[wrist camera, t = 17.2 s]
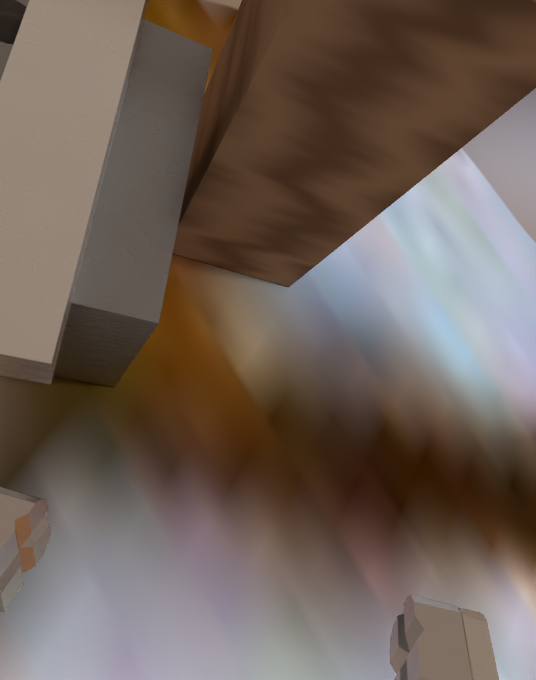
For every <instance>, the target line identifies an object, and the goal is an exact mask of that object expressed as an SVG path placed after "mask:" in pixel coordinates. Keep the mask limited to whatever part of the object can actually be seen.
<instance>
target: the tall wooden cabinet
mask: <svg viewBox="0 0 536 680" xmlns="http://www.w3.org/2000/svg"><path fill="white" fill-rule="evenodd" d="M535 88H536V0H242V2H241V4H240V7H239V9H238V12H237V14H236V17H235V19H234V22H233V24H232V27H231V29H230V32H229V34H228V37H227V39H226V42H225V44H224V47H223V49H222V52H221V54H220V57H219V59H218V62H217V64H216V67H215V69H214V72H213V74H212V77H211V79H210V82H209V84H208V86H207V89H206V91H205V94H204V96H203V101H202V106H201V112H200V117H199V122H198V127H197V132H196V137H195V142H194V147H193V152H192V157H191V162H190V167H189V172H188V177H187V183H186V188H185V193H184V198H183V203H182V208H181V213H180V218H179V223H178V228H177V233H176V238H175V243H174V248H173V253H172V254H176V255H179V256H183V257H186V258H190V259H193V260H197V261H200V262H204V263H207V264H211V265H214V266H218V267H221V268H224V269H228V270H231V271H235V272H238V273H242V274H245V275H249V276H252V277H256V278H259V279H263V280H266V281H269V282H273V283H276V284H280V285H283V286H287V287H290V286H291V285H292V284H293V283H295V282H296V281H297V280H298V279H300V278H301V277H302V276H303V275H304V274H306V273H307V272H308V271H309V270H311V269H312V268H313V267H314V266H316V265H317V264H318V263H319V262H321V261H322V260H323V259H324V258H326V257H327V256H328V255H329V254H330V253H332V252H333V251H334V250H335V249H337V248H338V247H339V246H340V245H342V244H343V243H344V242H345V241H347V240H348V239H349V238H350V237H352V236H353V235H354V234H355V233H356V232H358V231H359V230H360V229H361V228H363V227H364V226H365V225H366V224H368V223H369V222H370V221H371V220H373V219H374V218H375V217H376V216H378V215H379V214H380V213H381V212H383V211H384V210H385V209H386V208H387V207H389V206H390V205H391V204H392V203H394V202H395V201H396V200H397V199H399V198H400V197H401V196H402V195H404V194H405V193H406V192H407V191H409V190H410V189H411V188H412V187H413V186H415V185H416V184H417V183H418V182H420V181H421V180H422V179H423V178H425V177H426V176H427V175H428V174H430V173H431V172H432V171H433V170H435V169H436V168H437V167H438V166H439V165H441V164H442V163H443V162H444V161H446V160H447V159H448V158H449V157H451V156H452V155H453V154H454V153H456V152H457V151H458V150H459V149H461V148H462V147H463V146H464V145H465V144H467V143H468V142H469V141H470V140H472V139H473V138H474V137H475V136H477V135H478V134H479V133H480V132H481V131H483V130H484V129H485V128H487V127H488V126H489V125H490V124H491V123H493V122H494V121H495V120H496V119H498V118H499V117H500V116H501V115H503V114H504V113H505V112H506V111H508V110H509V109H510V108H511V107H513V106H514V105H515V104H516V103H517V102H519V101H520V100H521V99H522V98H524V97H525V96H526V95H527V94H529V93H530V92H531V91H532V90H534V89H535Z"/></svg>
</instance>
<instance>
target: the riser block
mask: <svg viewBox="0 0 536 680" xmlns="http://www.w3.org/2000/svg"><path fill="white" fill-rule="evenodd" d="M28 3H29V0H0V81H1V78H2V75H3V72H4V70H5V67H6V64H7V61H8V58H9V56H10V53H11V50H12V47H13V44H14V42H15V39H16V36H17V33H18V30H19V28H20V25H21V22H22V19H23V17H24V14H25V11H26V8H27V5H28ZM212 51H213V49H211V48H209V47H206V46H204V45H202V44H200V43H197V42H195V41H193V40H190V39H188V38H186V37H184V36H181V35H179V34H177V33H175V32H172V31H170V30H168V29H166V28H163V27H161V26H159V25H157V24H154V23H152V22H150V21H147V20H145V19H144V22H143V26H142V30H141V34H140V37H139V41H138V45H137V49H136V53H135V57H134V61H133V65H132V69H131V73H130V77H129V81H128V84H127V88H126V92H125V96H124V100H123V104H122V108H121V112H120V116H119V120H118V124H117V128H116V131H115V135H114V139H113V143H112V147H111V151H110V155H109V159H108V163H107V167H106V171H105V175H104V179H103V182H102V186H101V190H100V194H99V198H98V202H97V206H96V210H95V214H94V218H93V222H92V226H91V229H90V233H89V237H88V241H87V245H86V249H85V253H84V257H83V261H82V265H81V269H80V273H79V276H78V280H77V284H76V288H75V292H74V296H73V300H72V304H71V308H70V312H69V316H68V320H67V324H66V327H65V331H64V335H63V339H62V343H61V347H60V351H59V355H58V359H57V363H56V367H55V371H54V374H53V376H57V377H62V378H67V379H73V380H78V381H83V382H88V383H94V384H99V385H104V386H110V387H115V385H116V384H117V383H118V381H119V380H120V378H121V377H122V375H123V374H124V372H125V371H126V370H127V368H128V367H129V365H130V364H131V362H132V361H133V360H134V358H135V357H136V355H137V354H138V352H139V351H140V350H141V348H142V347H143V345H144V344H145V342H146V341H147V339H148V338H149V337H150V335H151V334H152V332H153V331H154V329H155V328H156V327H157V325H158V324H159V319H160V314H161V309H162V304H163V299H164V294H165V289H166V284H167V279H168V274H169V269H170V264H171V259H172V253H173V248H174V243H175V238H176V233H177V228H178V223H179V218H180V213H181V208H182V203H183V198H184V193H185V188H186V183H187V177H188V172H189V167H190V162H191V157H192V152H193V147H194V142H195V137H196V132H197V127H198V122H199V117H200V112H201V106H202V101H203V96H204V91H205V86H206V81H207V76H208V71H209V66H210V61H211V56H212Z"/></svg>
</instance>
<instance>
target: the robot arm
mask: <svg viewBox="0 0 536 680" xmlns="http://www.w3.org/2000/svg"><path fill="white" fill-rule="evenodd" d="M47 511H48V505H47V500H45V499H41V498H37V497H34V496H30V495H27V494H23V493H20V492H16V491H12V490H9V489H5V488H3V487H0V612H4V613H5V611H6V610H7V608H8V607H9V605H10V604H11V602H12V601H13V599H14V598H15V596H16V595H17V593H18V592H19V590H20V589H21V587H22V586H23V573H24V572H26V571H27V570H29V569H31V568H33V567H34V566H36V564H37V563H38V561H39V560H40V558H41V557H42V555H43V553H44V551H45V548H46V546H47V544H48V541H49V536H50V523H49V522H48V521H47V520H46V519H45V517H44V516H45V514H46V513H47ZM390 664H391V665H392V667H393V669H394V671H395V672H396V674H397V675H396V677H395V679H394V680H499V677H498V672H497V667H496V663H495V658H494V653H493V648H492V644H491V639H490V634H489V629H488V625H487V620H486V618H485V617H484V615H483V614H481V613H479V612H475V611H470V610H466V609H462V608H458V607H456V606H454V605H450V604H446V603H441V602H437V601H433V600H429V599H425V598H421V597H417V596H413V595H410V596H408V597H407V599H406V600H405V602H404V614H402V615H399V616H397V618H396V621H395V623H394V625H393V629H392V634H391V639H390Z"/></svg>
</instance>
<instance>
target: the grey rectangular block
mask: <svg viewBox="0 0 536 680" xmlns="http://www.w3.org/2000/svg"><path fill="white" fill-rule="evenodd" d="M148 2H149V0H29V3H28V5H27V8H26V11H25V14H24V17H23V19H22V22H21V25H20V28H19V30H18V33H17V36H16V39H15V42H14V44H13V47H12V50H11V53H10V56H9V58H8V61H7V64H6V67H5V70H4V72H3V75H2V78H1V81H0V376H6V377H11V378H17V379H22V380H28V381H33V382H39V383H45V384H50V385H51V382H52V378H53V374H54V371H55V367H56V363H57V359H58V355H59V351H60V347H61V343H62V339H63V335H64V331H65V327H66V324H67V320H68V316H69V312H70V308H71V304H72V300H73V296H74V292H75V288H76V284H77V280H78V276H79V273H80V269H81V265H82V261H83V257H84V253H85V249H86V245H87V241H88V237H89V233H90V229H91V226H92V222H93V218H94V214H95V210H96V206H97V202H98V198H99V194H100V190H101V186H102V182H103V179H104V175H105V171H106V167H107V163H108V159H109V155H110V151H111V147H112V143H113V139H114V135H115V131H116V128H117V124H118V120H119V116H120V112H121V108H122V104H123V100H124V96H125V92H126V88H127V84H128V81H129V77H130V73H131V69H132V65H133V61H134V57H135V53H136V49H137V45H138V41H139V37H140V34H141V30H142V26H143V22H144V18H145V14H146V10H147V6H148Z"/></svg>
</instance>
